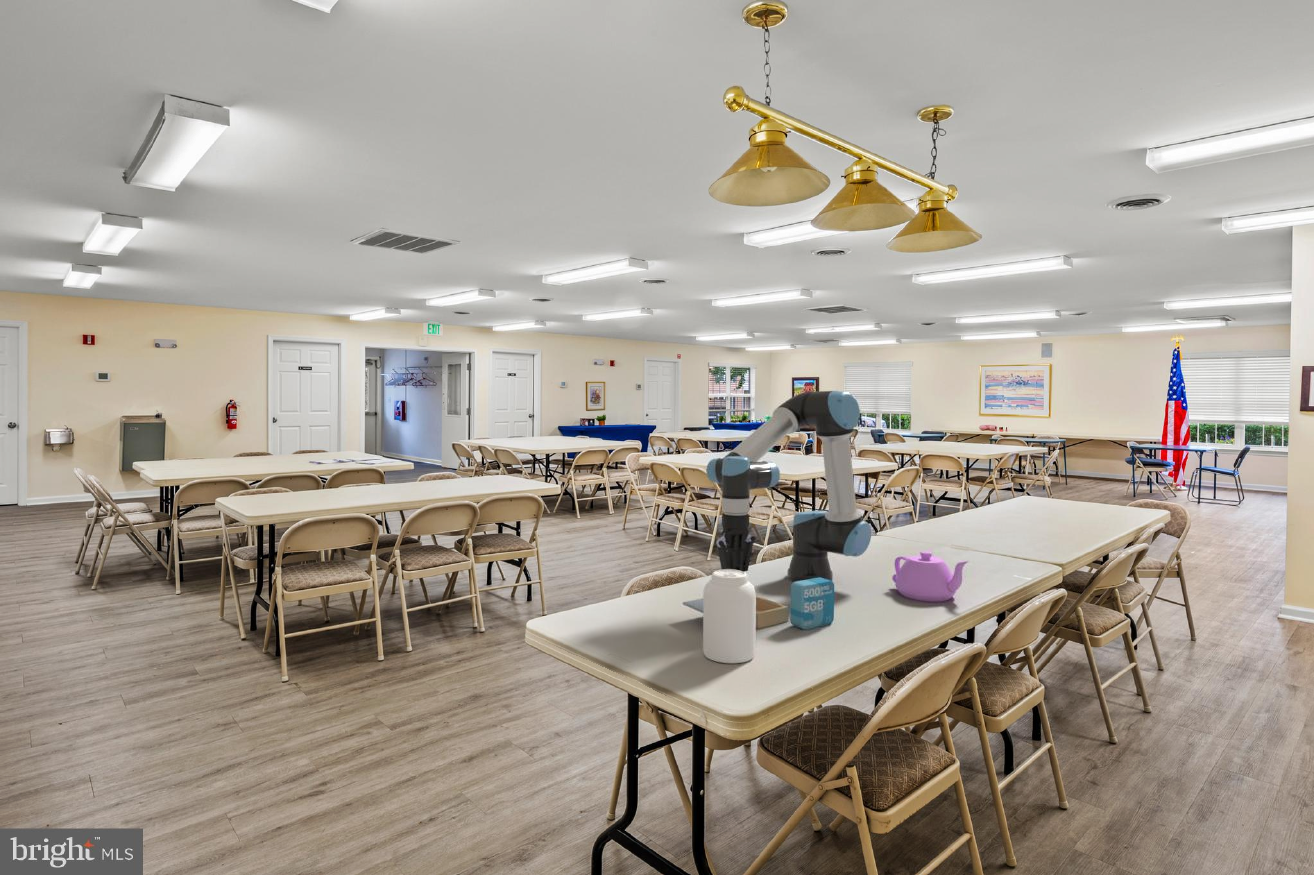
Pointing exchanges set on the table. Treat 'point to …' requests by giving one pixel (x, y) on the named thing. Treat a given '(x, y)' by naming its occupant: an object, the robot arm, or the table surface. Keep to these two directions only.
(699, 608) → the lid
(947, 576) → the teapot
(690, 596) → the table surface
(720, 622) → the white bottle
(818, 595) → the data package
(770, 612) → the light brown shallow tray
